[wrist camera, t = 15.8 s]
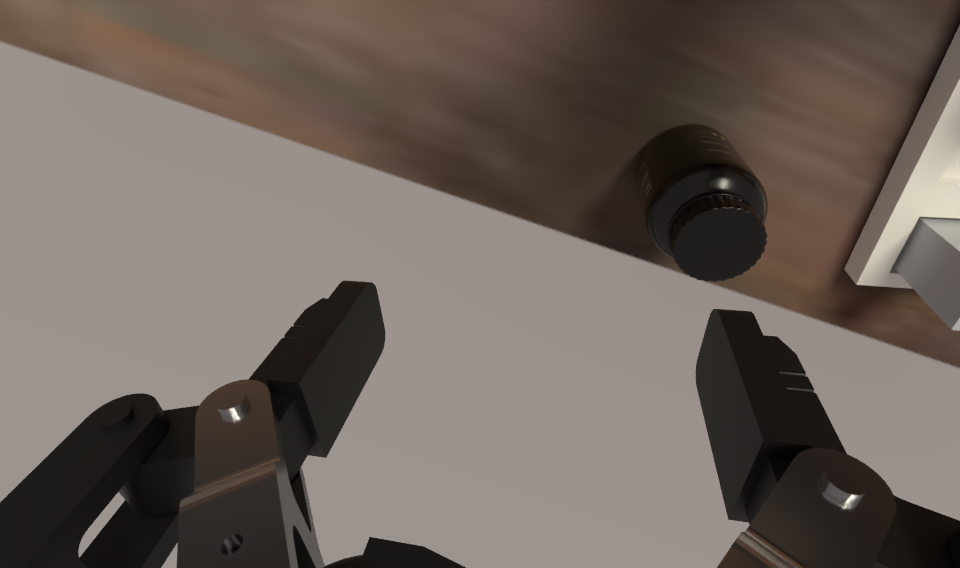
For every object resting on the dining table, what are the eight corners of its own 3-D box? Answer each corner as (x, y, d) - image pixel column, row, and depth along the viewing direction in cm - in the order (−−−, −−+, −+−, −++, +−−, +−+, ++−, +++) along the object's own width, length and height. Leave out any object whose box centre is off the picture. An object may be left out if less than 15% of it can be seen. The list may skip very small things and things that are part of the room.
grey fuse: (913, 212, 34) (988, 275, 27) (962, 215, 33) (1051, 279, 27) (887, 261, 36) (951, 329, 29) (933, 264, 35) (1008, 334, 29)
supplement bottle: (689, 223, 38) (722, 316, 29) (617, 181, 37) (625, 263, 28) (756, 150, 34) (819, 230, 25) (677, 102, 33) (710, 164, 24)
